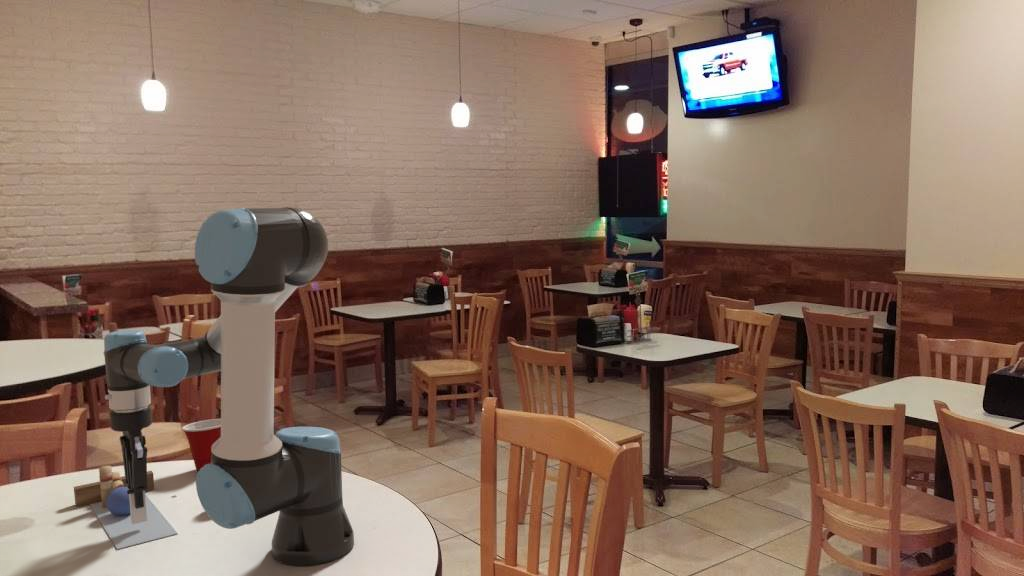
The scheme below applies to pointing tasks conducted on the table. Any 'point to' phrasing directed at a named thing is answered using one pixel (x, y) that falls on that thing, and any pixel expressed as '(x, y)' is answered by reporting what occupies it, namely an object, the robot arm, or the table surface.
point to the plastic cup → (202, 440)
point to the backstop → (93, 491)
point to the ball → (119, 501)
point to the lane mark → (133, 526)
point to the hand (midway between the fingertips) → (139, 521)
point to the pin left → (105, 483)
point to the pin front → (117, 480)
